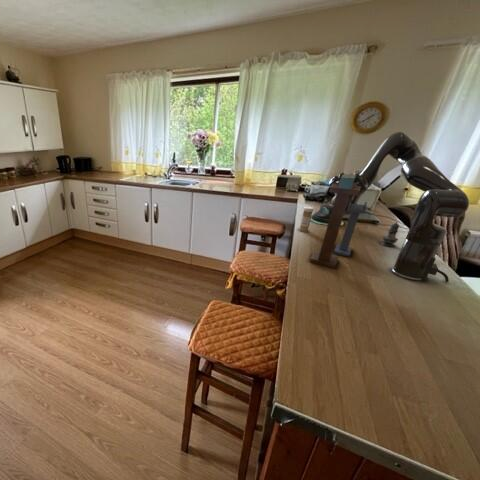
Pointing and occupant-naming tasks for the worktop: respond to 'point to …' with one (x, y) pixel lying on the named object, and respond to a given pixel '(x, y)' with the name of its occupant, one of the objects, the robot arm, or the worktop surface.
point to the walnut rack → (334, 225)
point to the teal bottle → (347, 181)
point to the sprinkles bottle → (306, 219)
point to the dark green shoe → (323, 215)
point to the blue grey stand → (350, 228)
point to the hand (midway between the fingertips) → (349, 175)
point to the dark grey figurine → (391, 236)
